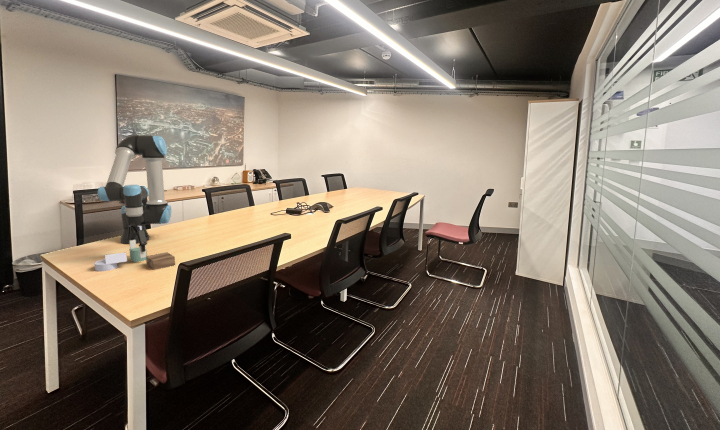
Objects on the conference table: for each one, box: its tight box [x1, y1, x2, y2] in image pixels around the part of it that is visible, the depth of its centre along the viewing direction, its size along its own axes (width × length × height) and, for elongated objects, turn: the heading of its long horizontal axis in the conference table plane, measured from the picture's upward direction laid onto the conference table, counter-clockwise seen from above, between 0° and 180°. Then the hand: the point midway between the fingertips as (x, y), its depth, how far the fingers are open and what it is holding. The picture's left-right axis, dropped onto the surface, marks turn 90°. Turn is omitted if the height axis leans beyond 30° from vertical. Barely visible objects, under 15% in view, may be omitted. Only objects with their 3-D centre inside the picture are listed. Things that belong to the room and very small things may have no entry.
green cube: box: [129, 246, 148, 263], centre depth 187 cm, size 6×6×6 cm
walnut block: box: [145, 252, 176, 271], centre depth 180 cm, size 10×10×5 cm
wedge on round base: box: [93, 252, 128, 272], centre depth 175 cm, size 9×7×13 cm
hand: (138, 254), depth 186 cm, fingers open, 13 cm apart
